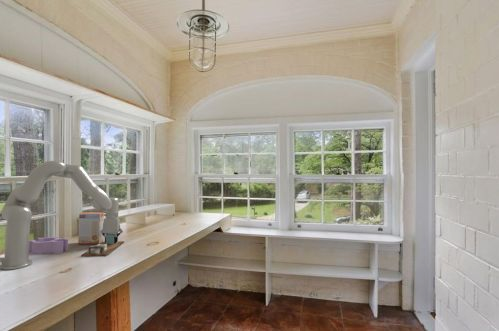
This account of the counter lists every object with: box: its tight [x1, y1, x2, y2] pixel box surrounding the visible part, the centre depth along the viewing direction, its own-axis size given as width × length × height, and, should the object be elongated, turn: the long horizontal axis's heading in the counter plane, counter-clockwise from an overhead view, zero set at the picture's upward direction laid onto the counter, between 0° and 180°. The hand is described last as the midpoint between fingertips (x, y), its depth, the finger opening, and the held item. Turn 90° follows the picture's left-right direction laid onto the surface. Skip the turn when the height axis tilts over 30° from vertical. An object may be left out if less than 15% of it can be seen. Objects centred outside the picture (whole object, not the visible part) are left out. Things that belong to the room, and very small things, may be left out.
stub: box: [106, 233, 115, 244], centre depth 178 cm, size 5×5×6 cm
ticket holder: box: [81, 240, 125, 257], centre depth 168 cm, size 14×28×5 cm, turn 6°
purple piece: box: [29, 236, 69, 255], centre depth 162 cm, size 20×12×7 cm, turn 89°
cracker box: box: [77, 211, 105, 245], centre depth 179 cm, size 14×6×21 cm, turn 90°
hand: (111, 242), depth 178 cm, fingers open, 5 cm apart
